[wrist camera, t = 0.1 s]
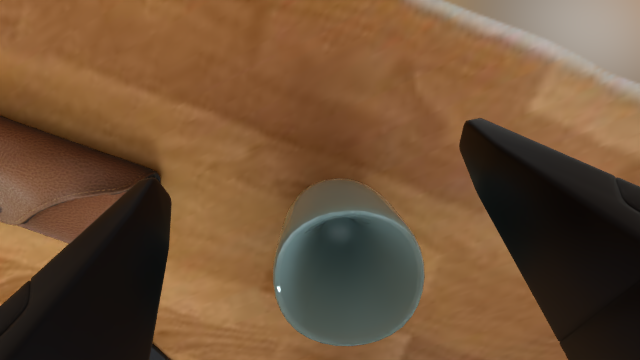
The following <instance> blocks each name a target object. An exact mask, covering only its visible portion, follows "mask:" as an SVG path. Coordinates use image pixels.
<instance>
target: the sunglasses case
mask: <svg viewBox="0 0 640 360" xmlns="http://www.w3.org/2000/svg"><path fill="white" fill-rule="evenodd" d="M147 178H156V179H157V180H158V181H159V182H160V176H159V174H158V173H157V172H156V171H153V170H152V169H149V168H147V167H144V166H142V165H139V164H136V163H133V162H130V161H127V160H124V159H121V158H118V157H115V156H112V155H109V154H106V153H103V152H100V151H97V150H95V149H92V148H89V147H86V146H84V145H81V144H78V143H75V142H72V141H70V140H67V139H64V138H61V137H58V136H55V135H52V134H49V133H46V132H44V131H41V130H38V129H36V128H32V127H29V126H26V125H23V124H21V123H18V122H15V121H13V120H10V119H7V118H5V117H2V116H0V222H3V223H6V224H10V225H17V226H20V227H23V228H26V229H29V230H32V231H35V232H38V233H40V234H43V235H46V236H49V237H52V238H55V239H58V240H61V241H63V242H66V243H69V244H70V243H71V242H72V241H73V240H74V239H75V238H76V237H77V236H78V235H80V234H81V233H82V232H83V231H84V230H85V229H86V228H87V227H88V226H90V225H91V224H92V223H93V222H94V221H95V220H96V219H97V218H98V217H99V216H101V215H102V214H103V213H104V212H105V211H106V210H107V209H108V208H109V207H110V206H112V205H113V204H114V203H115V202H116V201H117V200H118V199H119V198H120V197H121V196H123V195H124V194H125V193H126V192H127V191H128V190H129V189H130V188H131V187H133V186H134V185H135V184H136V183H137V182H138V181H139V180H142V179H147ZM160 183H161V182H160Z"/></svg>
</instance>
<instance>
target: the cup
mask: <svg viewBox="0 0 640 360" xmlns="http://www.w3.org/2000/svg"><path fill="white" fill-rule="evenodd" d="M424 278H425V276H424V262H423V258H422V254H421V250H420V247H419V244H418V242H417V240H416V238H415V236H414V234H413V232H412V231H411V229H410V228H409V227H408V225H407V224H406V223H405V222H404V220H403V219H402V218H401V217H400V215H399V214H398V213H397V212H396V211H395V209H394V208H393V207H392V206H391V205H390V203H389V202H388V201H387V200H386V199H385V198H384V197H383V196H382V195H381V194H379V193H378V192H377V191H375V190H374V189H372V188H371V187H370V186H368V185H366V184H363V183H361V182H359V181H355V180H350V179H339V178H335V179H327V180H323V181H320V182H317V183H315V184H313V185H311V186H309V187H307V188H306V189H305V190H304V191H302V192H301V193H300V194H299V195H298V197H297V198H296V199H295V201H294V202H293V203H292V205H291V207H290V209H289V211H288V214H287V216H286V218H285V220H284V223H283V226H282V229H281V233H280V236H279V240H278V244H277V248H276V253H275V258H274V263H273V285H274V291H275V297H276V300H277V303H278V305H279V308H280V310H281V312H282V314H283V315H284V317H285V318H286V320H287V322H288V323H289V324H290V325H291V326H292V327H293V328H294V329H295V330H296V331H298V332H299V333H301V334H303V335H304V336H306V337H308V338H309V339H312V340H315V341H317V342H320V343H324V344H329V345H335V346H355V345H364V344H368V343H372V342H376V341H379V340H381V339H383V338H386V337H388V336H390V335H392V334H393V333H395V332H396V331H397V330H399V329H400V328H402V327H403V326H404V325H405V323H406V322H407V321H408V320H409V319H410V318H411V317H412V315H413V313H414V311H415V309H416V308H417V306H418V304H419V301H420V298H421V295H422V292H423V286H424Z"/></svg>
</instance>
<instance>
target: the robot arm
mask: <svg viewBox="0 0 640 360" xmlns="http://www.w3.org/2000/svg"><path fill="white" fill-rule="evenodd" d="M459 147H460V152H461V154H462V157H463V159H464V162H465V164H466V167H467V169H468V172H469V174H470V177H471V179H472V182H473V184H474V187H475V189H476V191H477V194H478V196H479V198H480V200H481V201H482V203H483V205H484V207H485V209H486V211H487V212H488V214H489V216H490V218H491V220H492V221H493V223H494V225H495V227H496V229H497V230H498V232H499V234H500V236H501V238H502V239H503V241H504V243H505V245H506V247H507V249H508V250H509V252H510V254H511V256H512V258H513V259H514V261H515V263H516V265H517V267H518V268H519V270H520V272H521V274H522V276H523V278H524V279H525V281H526V283H527V285H528V287H529V288H530V290H531V292H532V294H533V296H534V297H535V299H536V301H537V303H538V305H539V307H540V308H541V310H542V312H543V314H544V316H545V317H546V319H547V321H548V323H549V325H550V326H551V328H552V330H553V332H554V334H555V336H556V337H557V339H558V341H560V345H561V347H562V349H563V350H564V352H565V354H566V356H567V358H568V360H640V187H639V186H637V185H634V184H632V183H630V182H627V181H625V180H623V179H621V178H615V176H613V175H611V174H609V173H607V172H604V171H602V170H600V169H597V168H595V167H593V166H590V165H588V164H586V163H583V162H581V161H579V160H577V159H574V158H572V157H570V156H567V155H565V154H563V153H560V152H558V151H556V150H553V149H551V148H549V147H547V146H544V145H542V144H540V143H537V142H535V141H533V140H530V139H528V138H526V137H524V136H521V135H519V134H517V133H514V132H512V131H510V130H507V129H505V128H503V127H500V126H498V125H496V124H494V123H491V122H489V121H487V120H484V119H481V118H478V119H473V120H468V121H466V122H465V124H464V126H463V131H462V135H461V139H460V144H459ZM170 221H171V198H170V196H169V194H168V193H167V192H166V190H165V189H164V187H163V186H162V185H161V183H160V182H159V181H158V180H157V179H156V178H147V179H142V180H139V181H138V182H137V183H136V184H135V185H134V186H133V187H131V188H130V189H129V190H128V191H127V192H126V193H125V194H124V195H123V196H121V197H120V198H119V199H118V200H117V201H116V202H115V203H114V204H113V205H112V206H110V207H109V208H108V209H107V210H106V211H105V212H104V213H103V214H102V215H101V216H99V217H98V218H97V219H96V220H95V221H94V222H93V223H92V224H91V225H90V226H88V227H87V228H86V229H85V230H84V231H83V232H82V233H81V234H80V235H78V236H77V237H76V238H75V239H74V240H73V241H72V242H71V243H70V244H69V245H67V246H66V247H65V248H64V249H63V250H62V251H61V252H60V253H59V254H58V255H56V256H55V257H54V258H53V259H52V260H51V261H50V262H49V263H48V264H47V265H45V266H44V267H43V268H42V269H41V270H40V271H39V272H38V273H37V274H35V275H34V276H33V277H32V278H31V281H28V282H27V283H25V284H24V285H23V286H22V287H21V288H20V289H19V290H18V291H17V292H16V293H14V294H13V295H12V296H11V297H10V298H9V299H8V300H7V301H5V302H4V303H3V304H2V305H1V306H0V360H149V358H150V352H151V347H152V341H153V336H154V330H155V324H156V319H157V313H158V307H159V302H160V296H161V290H162V285H163V279H164V273H165V268H166V262H167V256H168V250H169V239H170Z"/></svg>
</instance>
